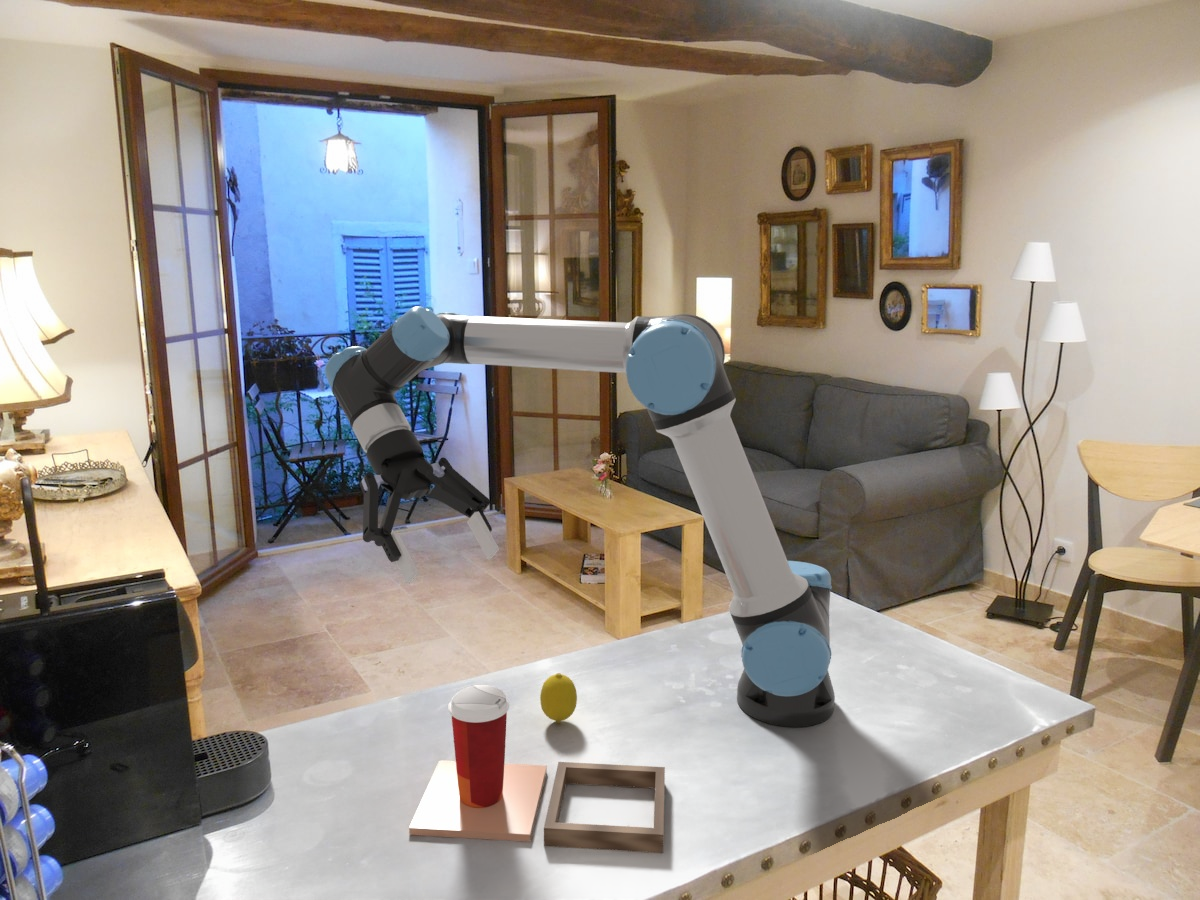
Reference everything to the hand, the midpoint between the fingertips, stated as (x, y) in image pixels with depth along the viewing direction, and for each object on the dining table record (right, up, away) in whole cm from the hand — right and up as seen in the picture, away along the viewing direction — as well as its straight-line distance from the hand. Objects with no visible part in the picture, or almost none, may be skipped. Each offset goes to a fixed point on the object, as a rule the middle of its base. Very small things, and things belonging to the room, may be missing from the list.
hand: (454, 566), depth 127 cm
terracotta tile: (+5, -30, -6) cm, 31 cm away
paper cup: (+4, -29, -7) cm, 30 cm away
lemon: (+14, -26, +14) cm, 32 cm away
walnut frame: (+21, -31, -8) cm, 38 cm away
